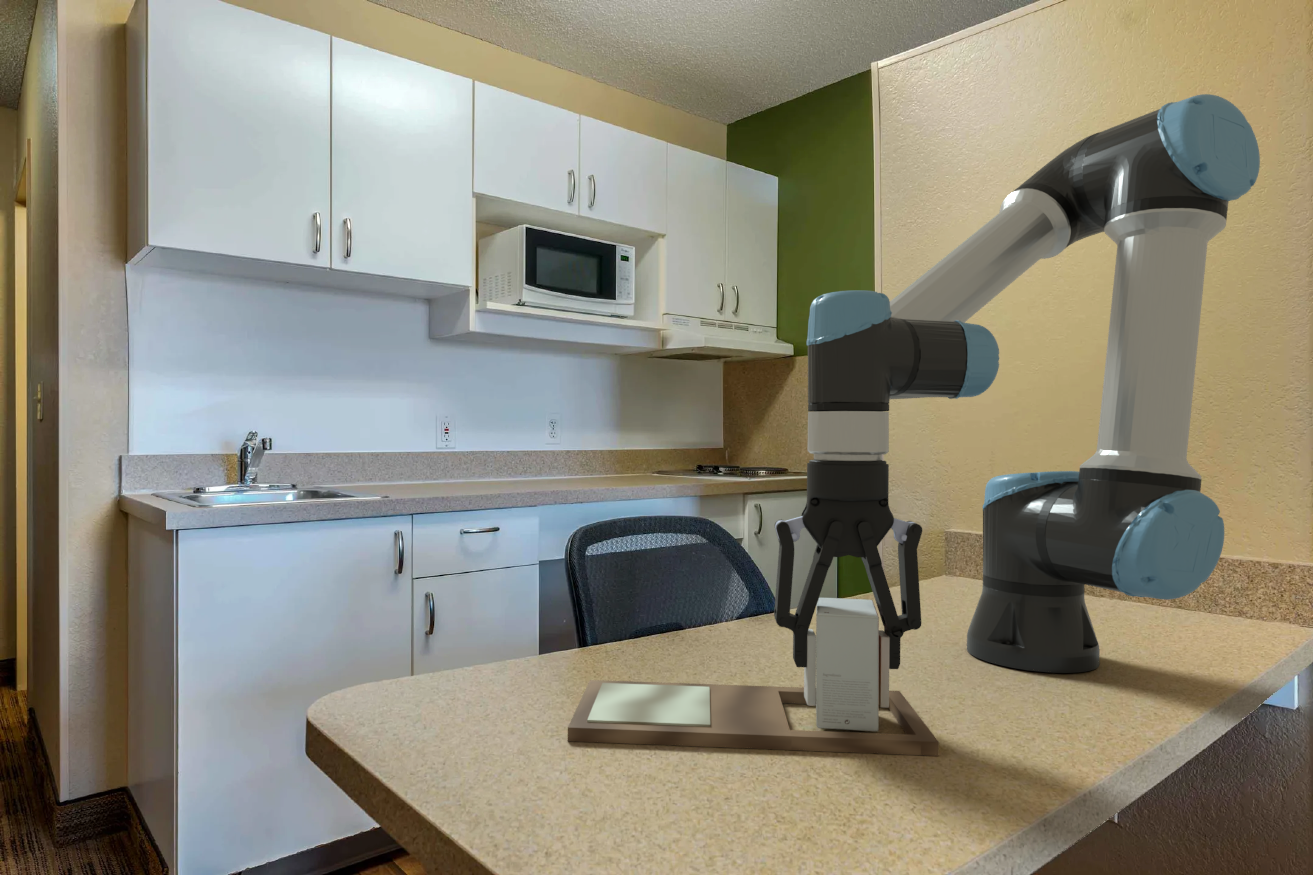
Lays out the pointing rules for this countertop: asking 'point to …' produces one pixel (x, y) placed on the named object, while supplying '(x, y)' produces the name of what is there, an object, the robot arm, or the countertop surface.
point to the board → (727, 719)
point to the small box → (847, 664)
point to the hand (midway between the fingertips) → (845, 701)
